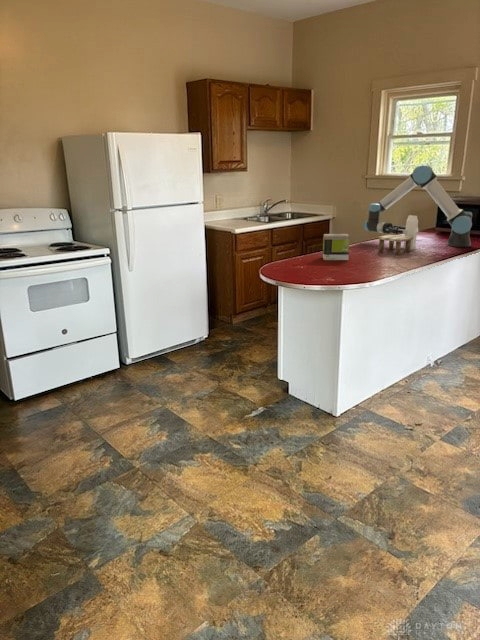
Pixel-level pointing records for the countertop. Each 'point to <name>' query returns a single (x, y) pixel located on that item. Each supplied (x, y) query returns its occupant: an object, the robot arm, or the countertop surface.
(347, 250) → the tea box
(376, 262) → the countertop surface
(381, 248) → the small table
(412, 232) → the milk
